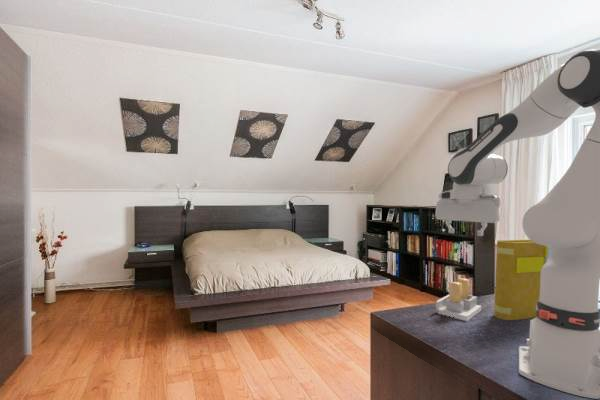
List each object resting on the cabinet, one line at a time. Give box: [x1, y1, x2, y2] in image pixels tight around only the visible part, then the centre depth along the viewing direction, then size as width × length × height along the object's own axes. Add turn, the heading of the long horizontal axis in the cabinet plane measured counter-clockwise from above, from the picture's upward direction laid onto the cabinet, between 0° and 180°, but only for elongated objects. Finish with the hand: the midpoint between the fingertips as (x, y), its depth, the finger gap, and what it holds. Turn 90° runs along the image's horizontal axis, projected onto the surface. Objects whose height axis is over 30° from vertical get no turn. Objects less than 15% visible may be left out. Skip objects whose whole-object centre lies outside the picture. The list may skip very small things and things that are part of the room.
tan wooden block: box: [457, 277, 470, 300], centre depth 122 cm, size 4×4×9 cm
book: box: [493, 238, 549, 321], centre depth 117 cm, size 17×7×25 cm, turn 108°
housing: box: [435, 281, 482, 322], centre depth 119 cm, size 15×10×10 cm, turn 137°
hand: (465, 234), depth 121 cm, fingers open, 8 cm apart
